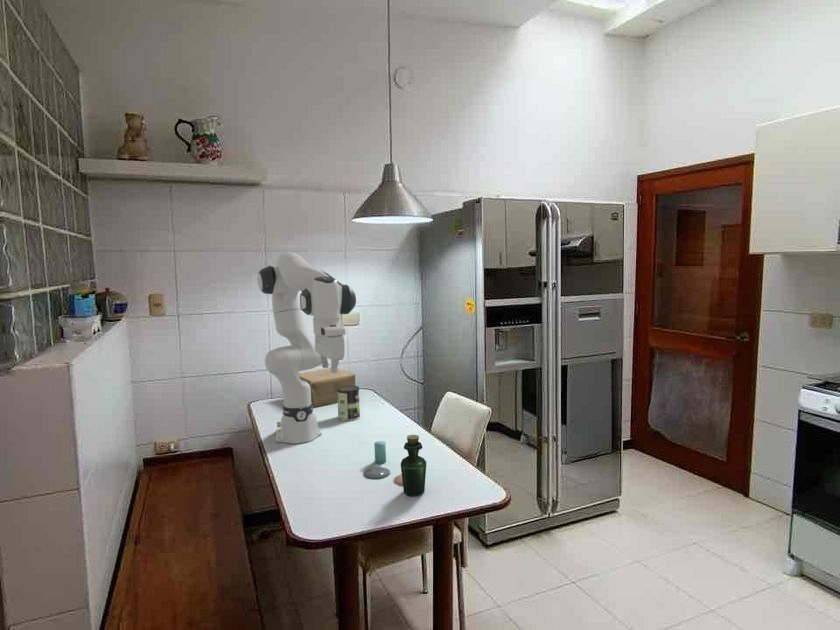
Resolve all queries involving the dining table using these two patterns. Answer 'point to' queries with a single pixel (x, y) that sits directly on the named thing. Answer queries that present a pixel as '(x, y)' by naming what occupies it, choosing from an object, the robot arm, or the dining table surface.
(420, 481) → the potion bottle
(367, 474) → the grey flat disc
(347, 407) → the coffee can
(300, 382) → the robot arm
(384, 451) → the marker peg
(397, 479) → the tan round disc
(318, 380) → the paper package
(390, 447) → the dining table surface
